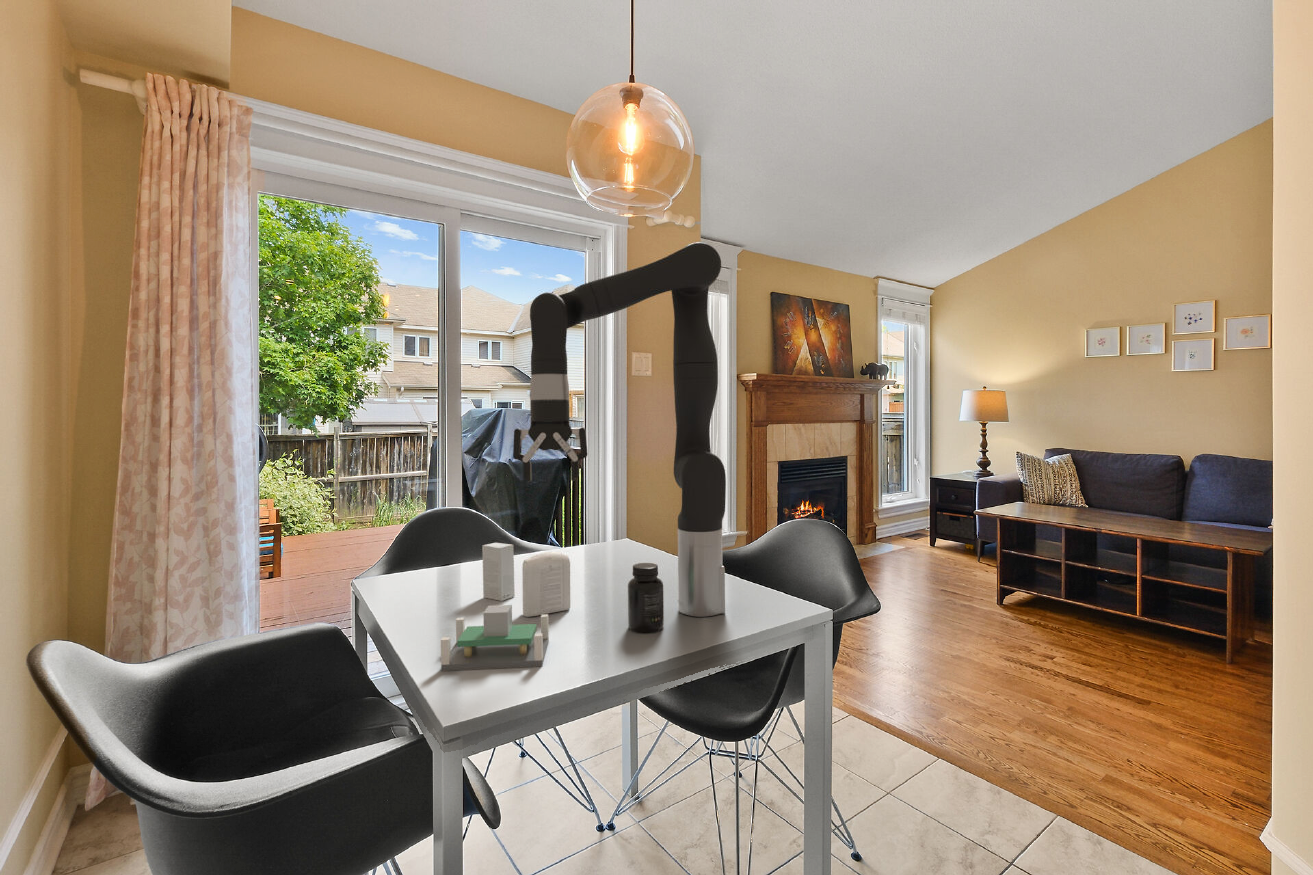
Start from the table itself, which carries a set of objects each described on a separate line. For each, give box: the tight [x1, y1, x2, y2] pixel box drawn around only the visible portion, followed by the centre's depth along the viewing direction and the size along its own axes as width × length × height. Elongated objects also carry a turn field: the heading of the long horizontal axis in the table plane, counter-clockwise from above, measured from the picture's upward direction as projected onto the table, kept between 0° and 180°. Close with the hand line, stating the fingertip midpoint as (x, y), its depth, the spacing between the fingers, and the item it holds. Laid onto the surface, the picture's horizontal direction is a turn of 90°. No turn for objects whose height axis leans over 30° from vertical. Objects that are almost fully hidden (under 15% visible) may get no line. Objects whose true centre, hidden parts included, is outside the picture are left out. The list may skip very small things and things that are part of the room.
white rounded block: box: [521, 551, 571, 618], centre depth 127 cm, size 10×4×12 cm, turn 123°
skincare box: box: [481, 542, 516, 602], centre depth 138 cm, size 6×4×12 cm
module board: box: [457, 604, 538, 647], centre depth 103 cm, size 12×7×5 cm, turn 94°
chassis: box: [440, 613, 550, 672], centre depth 103 cm, size 16×11×5 cm
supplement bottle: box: [627, 562, 665, 634], centre depth 116 cm, size 7×7×12 cm
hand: (551, 480), depth 119 cm, fingers open, 8 cm apart
